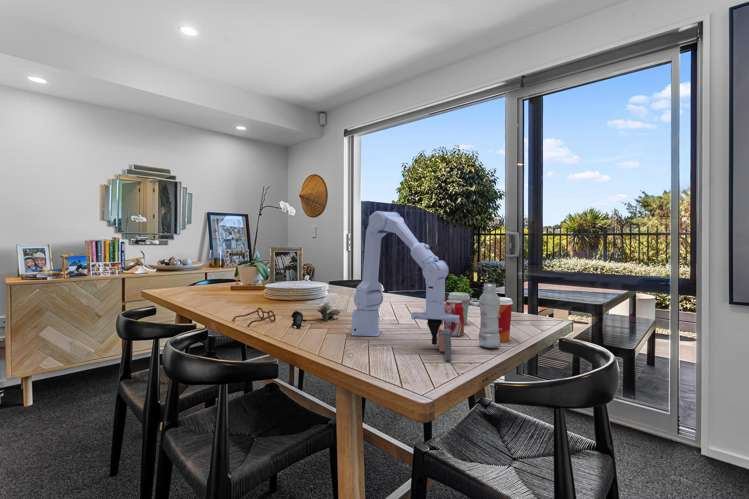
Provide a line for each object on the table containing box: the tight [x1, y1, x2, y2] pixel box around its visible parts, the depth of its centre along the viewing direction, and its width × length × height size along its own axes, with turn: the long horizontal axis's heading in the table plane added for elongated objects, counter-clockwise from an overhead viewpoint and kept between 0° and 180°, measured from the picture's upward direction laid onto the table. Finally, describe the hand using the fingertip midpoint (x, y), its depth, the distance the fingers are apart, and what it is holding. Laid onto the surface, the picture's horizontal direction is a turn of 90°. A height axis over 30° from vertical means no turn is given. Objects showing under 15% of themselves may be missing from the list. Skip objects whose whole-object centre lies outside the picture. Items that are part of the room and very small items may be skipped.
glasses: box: [231, 307, 276, 328], centre depth 156 cm, size 13×13×5 cm
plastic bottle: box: [477, 282, 501, 349], centre depth 123 cm, size 6×7×20 cm
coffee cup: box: [447, 291, 471, 326], centre depth 154 cm, size 8×9×12 cm
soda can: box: [443, 299, 465, 337], centre depth 138 cm, size 7×7×12 cm
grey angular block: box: [440, 329, 452, 362], centre depth 114 cm, size 3×9×7 cm, turn 172°
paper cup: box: [498, 296, 514, 343], centre depth 131 cm, size 8×8×14 cm
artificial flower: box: [290, 301, 341, 329], centre depth 156 cm, size 9×22×10 cm, turn 139°
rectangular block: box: [437, 324, 445, 352], centre depth 123 cm, size 13×2×5 cm, turn 173°
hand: (434, 343), depth 122 cm, fingers closed
